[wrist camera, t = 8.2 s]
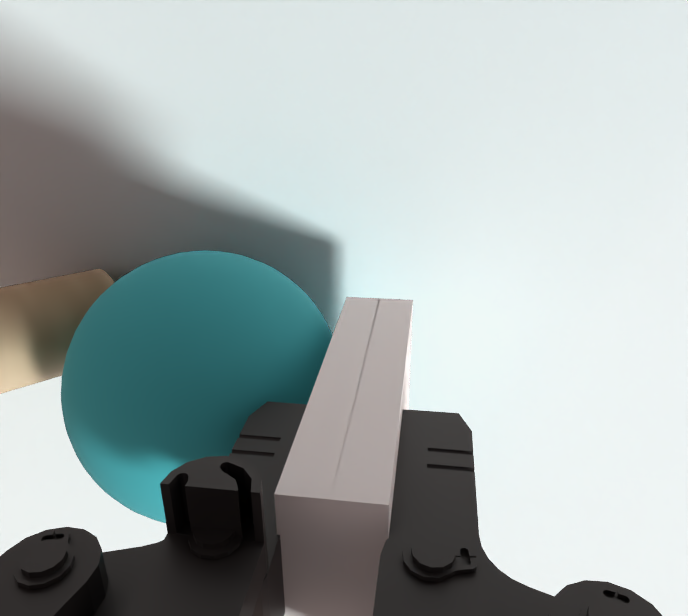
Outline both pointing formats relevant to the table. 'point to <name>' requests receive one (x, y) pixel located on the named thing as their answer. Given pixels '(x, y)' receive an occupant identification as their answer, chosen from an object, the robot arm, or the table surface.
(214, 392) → the ball
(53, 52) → the table surface
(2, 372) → the pin
